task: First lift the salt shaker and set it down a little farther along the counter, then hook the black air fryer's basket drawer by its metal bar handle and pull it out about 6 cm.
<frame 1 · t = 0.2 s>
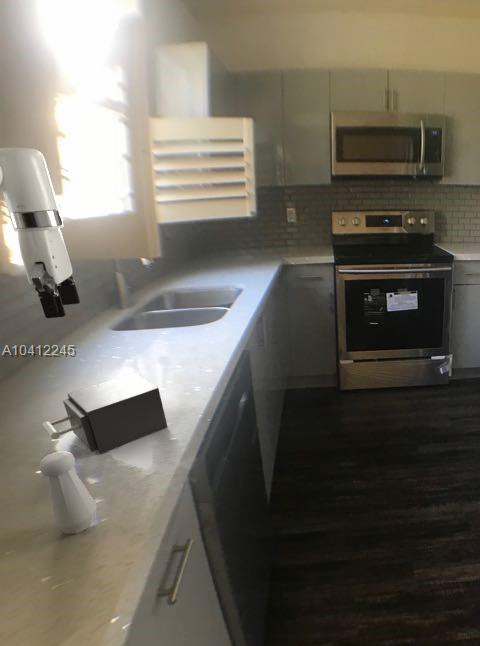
hand: (64, 310, 91), 27 cm above the worktop, tool pointing down, fingers open, 9 cm apart
fryer: (124, 429, 100), on the worktop
drawer: (97, 418, 95), point 5 cm above the worktop, slide at 0.0 cm
salt shaker: (79, 525, 73), on the worktop
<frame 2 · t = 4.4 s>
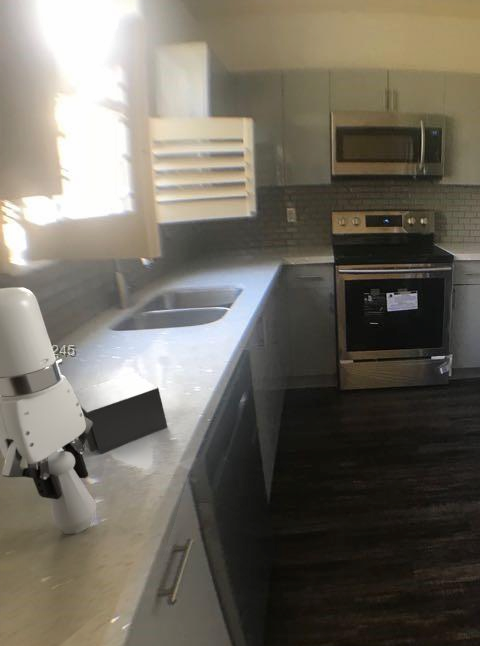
hand: (65, 485, 70), 8 cm above the worktop, tool pointing down, fingers closed on salt shaker, 4 cm apart
salt shaker: (79, 525, 73), on the worktop, touching gripper
everything else where it was.
when the fingers open (8 cm above the worktop, at t = 10.6 s): salt shaker stays where it is, on the worktop.
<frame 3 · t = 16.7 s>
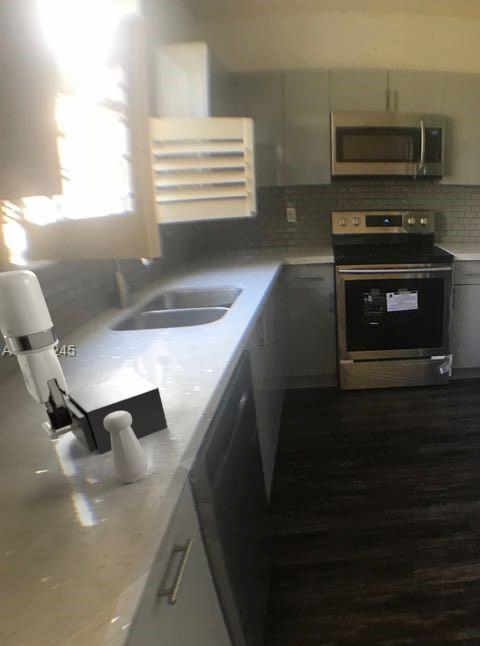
hand: (62, 425, 91), 6 cm above the worktop, tool pointing down, fingers closed
salt shaker: (133, 477, 84), on the worktop
everything else where it was.
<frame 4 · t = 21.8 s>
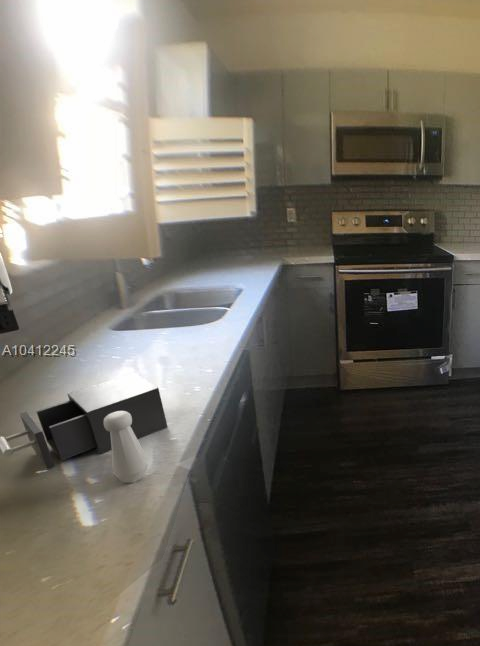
hand: (8, 330, 86), 25 cm above the worktop, tool pointing down, fingers closed
drawer: (56, 432, 90), point 5 cm above the worktop, slide at 7.3 cm
everything else where it was.
at the end: salt shaker inside the target area (0.0 cm from its centre), on the worktop; salt shaker tilted 0°; drawer slide at 7.3 cm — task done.
